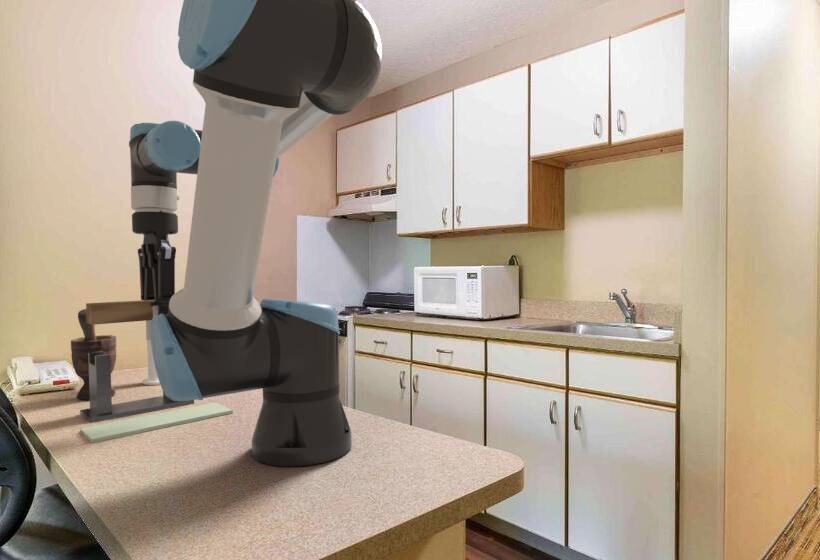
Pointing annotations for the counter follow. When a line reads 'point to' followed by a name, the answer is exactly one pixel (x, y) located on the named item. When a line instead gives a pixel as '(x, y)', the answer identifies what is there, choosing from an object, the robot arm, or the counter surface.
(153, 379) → the candle
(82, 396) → the mortar and pestle
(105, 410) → the rack
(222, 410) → the mat
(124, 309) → the rail
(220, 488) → the counter surface
